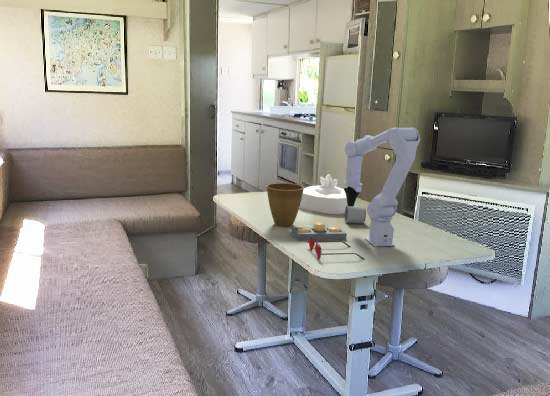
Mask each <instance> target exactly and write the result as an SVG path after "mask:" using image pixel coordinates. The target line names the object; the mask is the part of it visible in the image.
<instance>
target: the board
mask: <svg viewBox="0 0 550 396" xmlns="http://www.w3.org/2000/svg"><path fill="white" fill-rule="evenodd" d="M300 227H301V226H299V227H298V226H297V227H296V226H295V227H294V226H291V229H289V232H290V233H291V235H293V237H294V238H295V239H296V240H297V241H309V240H310V238H311V237H312V238H313V239H314V240H315V241H341V240H342V241H343V240H346V241H347V235H348V233H347V232H346V231H345V230H343V229H342V228H341V227H340V226H336V227H337V228H340V232H329V231H328V228H329V227H330V226H325V232H314V231H313V226H305V227H306V228H309V229H310V232H301V233H299V232H298V228H300ZM312 238H311V239H312Z"/></svg>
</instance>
